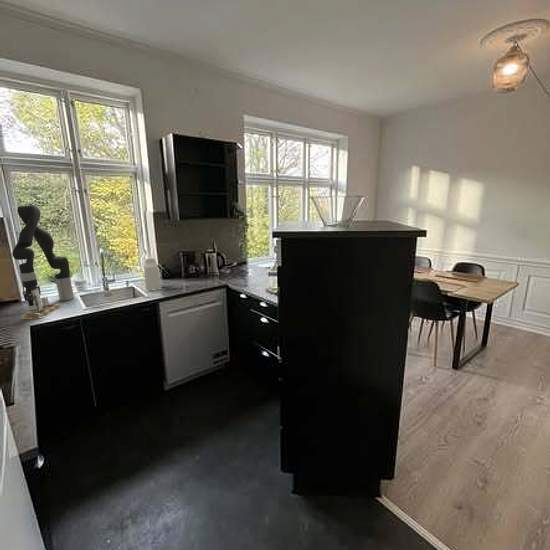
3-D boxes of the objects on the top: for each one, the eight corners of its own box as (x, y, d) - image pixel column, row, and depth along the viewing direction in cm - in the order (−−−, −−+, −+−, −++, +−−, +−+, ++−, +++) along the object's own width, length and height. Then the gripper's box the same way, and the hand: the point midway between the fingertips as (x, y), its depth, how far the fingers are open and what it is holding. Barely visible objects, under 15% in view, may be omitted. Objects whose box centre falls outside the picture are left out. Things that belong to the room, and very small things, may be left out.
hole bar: (42, 308, 216) (41, 304, 216) (60, 306, 218) (60, 303, 217) (21, 319, 194) (20, 316, 194) (42, 318, 196) (41, 314, 195)
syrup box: (28, 312, 196) (23, 291, 193) (33, 309, 202) (28, 288, 199) (39, 311, 198) (34, 290, 195) (43, 308, 204) (38, 287, 200)
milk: (146, 291, 250) (142, 260, 244) (146, 288, 260) (142, 258, 254) (161, 289, 254) (158, 259, 248) (161, 286, 265) (157, 256, 259)
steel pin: (45, 309, 213) (42, 297, 211) (51, 309, 213) (48, 296, 211) (42, 311, 209) (39, 298, 207) (48, 310, 210) (45, 298, 208)
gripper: (29, 277, 201) (35, 301, 205) (15, 282, 188) (21, 308, 191) (42, 276, 203) (47, 300, 206) (28, 281, 189) (34, 307, 193)
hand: (34, 303), depth 199 cm, fingers closed on syrup box, 6 cm apart
